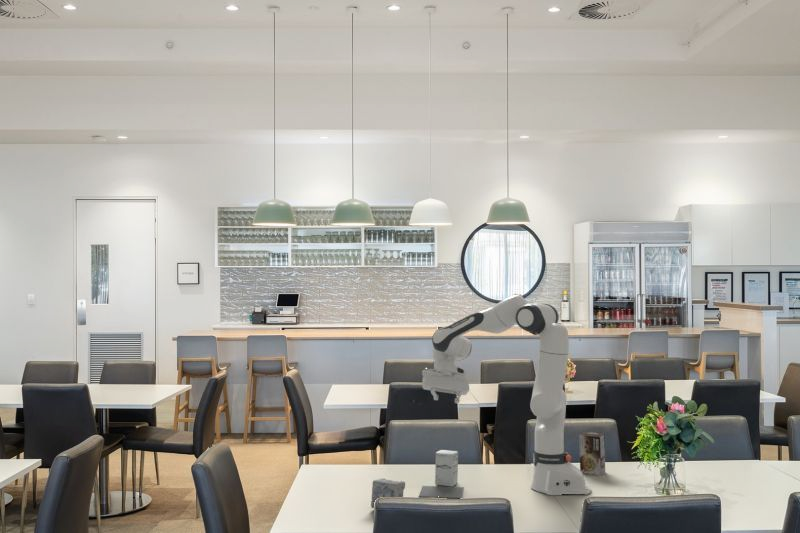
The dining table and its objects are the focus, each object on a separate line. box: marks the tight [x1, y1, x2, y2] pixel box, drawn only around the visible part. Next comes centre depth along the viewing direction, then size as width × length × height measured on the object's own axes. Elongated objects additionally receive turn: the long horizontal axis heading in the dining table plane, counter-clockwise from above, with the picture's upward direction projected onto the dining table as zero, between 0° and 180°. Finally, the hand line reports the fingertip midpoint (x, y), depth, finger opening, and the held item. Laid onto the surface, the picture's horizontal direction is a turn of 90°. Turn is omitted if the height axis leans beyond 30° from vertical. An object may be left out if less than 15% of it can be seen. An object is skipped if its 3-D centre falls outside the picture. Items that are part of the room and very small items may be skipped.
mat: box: [418, 485, 464, 499], centre depth 269 cm, size 16×13×1 cm
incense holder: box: [370, 477, 406, 509], centre depth 250 cm, size 10×8×10 cm
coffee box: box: [578, 431, 606, 476], centre depth 295 cm, size 9×6×16 cm
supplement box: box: [434, 449, 459, 487], centre depth 280 cm, size 7×7×13 cm
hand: (446, 400), depth 292 cm, fingers open, 8 cm apart
